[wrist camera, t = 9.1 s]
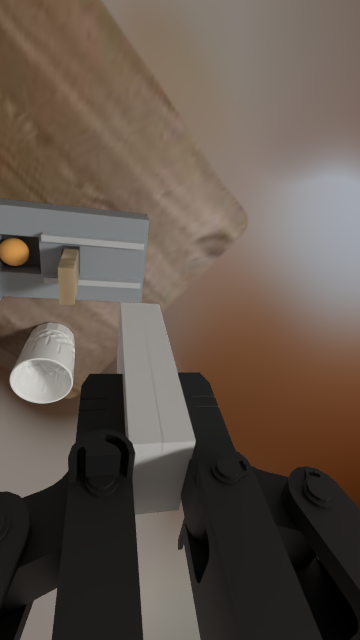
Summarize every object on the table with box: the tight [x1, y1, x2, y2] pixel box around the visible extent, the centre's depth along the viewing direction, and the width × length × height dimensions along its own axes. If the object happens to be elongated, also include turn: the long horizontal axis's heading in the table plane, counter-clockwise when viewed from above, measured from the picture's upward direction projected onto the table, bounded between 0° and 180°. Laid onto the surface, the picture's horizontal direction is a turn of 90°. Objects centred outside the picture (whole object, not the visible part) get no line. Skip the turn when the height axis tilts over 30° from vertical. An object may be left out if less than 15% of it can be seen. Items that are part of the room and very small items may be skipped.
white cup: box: [10, 322, 75, 403], centre depth 48 cm, size 8×8×10 cm
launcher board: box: [0, 199, 149, 303], centre depth 43 cm, size 20×12×4 cm, turn 81°
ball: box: [0, 238, 29, 266], centre depth 42 cm, size 4×4×4 cm
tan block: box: [58, 245, 80, 305], centre depth 39 cm, size 2×4×8 cm, turn 171°
